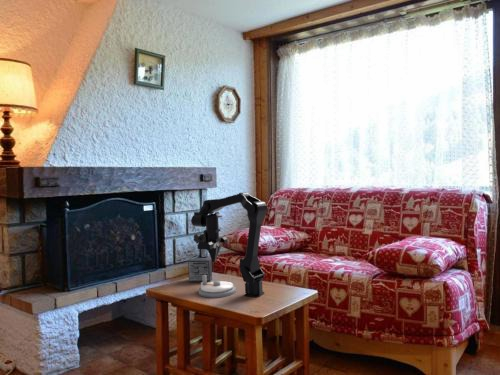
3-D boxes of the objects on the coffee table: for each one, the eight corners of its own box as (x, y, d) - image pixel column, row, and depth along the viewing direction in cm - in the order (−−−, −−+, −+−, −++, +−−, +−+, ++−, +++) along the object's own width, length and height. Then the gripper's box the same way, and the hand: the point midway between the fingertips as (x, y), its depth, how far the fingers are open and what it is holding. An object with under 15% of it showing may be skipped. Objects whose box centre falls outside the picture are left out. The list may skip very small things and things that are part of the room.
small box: (212, 278, 208) (211, 257, 208) (210, 282, 202) (209, 260, 201) (191, 278, 209) (190, 257, 209) (188, 282, 203) (187, 260, 203)
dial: (238, 284, 188) (237, 273, 188) (224, 293, 175) (224, 281, 175) (210, 282, 193) (209, 271, 193) (194, 291, 180) (194, 279, 180)
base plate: (241, 288, 188) (241, 281, 188) (224, 299, 174) (223, 290, 173) (210, 285, 195) (210, 278, 195) (191, 295, 181) (191, 287, 180)
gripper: (206, 224, 202) (207, 257, 203) (186, 230, 185) (187, 265, 185) (227, 224, 198) (228, 258, 199) (208, 230, 181) (210, 266, 181)
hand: (213, 261), depth 191 cm, fingers closed
